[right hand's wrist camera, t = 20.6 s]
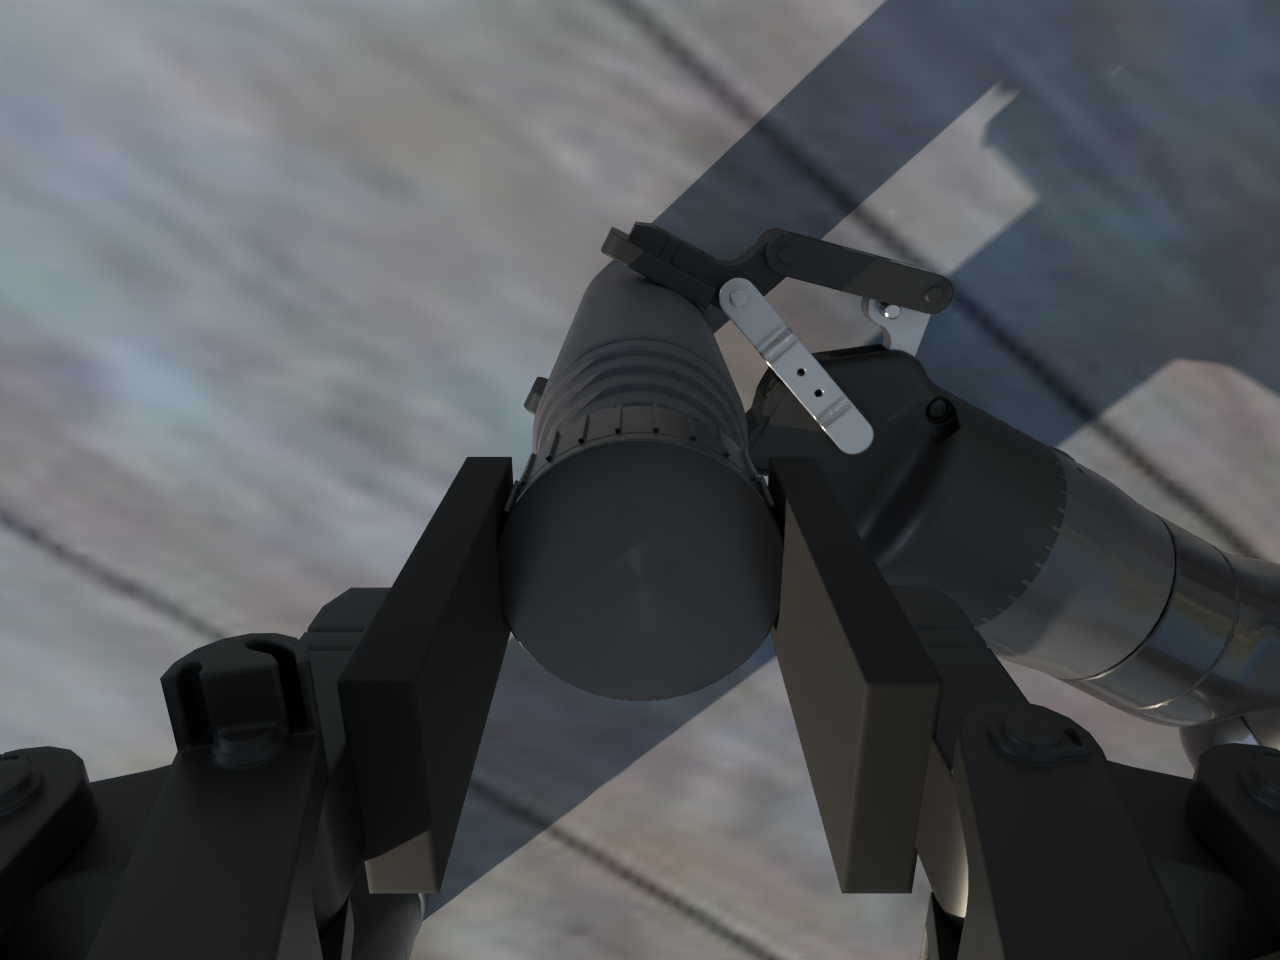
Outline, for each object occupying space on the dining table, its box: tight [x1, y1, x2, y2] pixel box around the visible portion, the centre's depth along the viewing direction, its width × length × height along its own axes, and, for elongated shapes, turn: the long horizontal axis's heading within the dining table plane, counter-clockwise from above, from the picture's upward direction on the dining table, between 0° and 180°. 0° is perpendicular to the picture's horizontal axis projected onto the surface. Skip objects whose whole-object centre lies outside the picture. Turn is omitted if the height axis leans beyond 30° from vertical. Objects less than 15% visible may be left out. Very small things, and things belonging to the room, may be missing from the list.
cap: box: [497, 404, 784, 701], centre depth 14 cm, size 5×5×2 cm
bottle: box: [533, 262, 748, 454], centre depth 24 cm, size 5×5×22 cm
